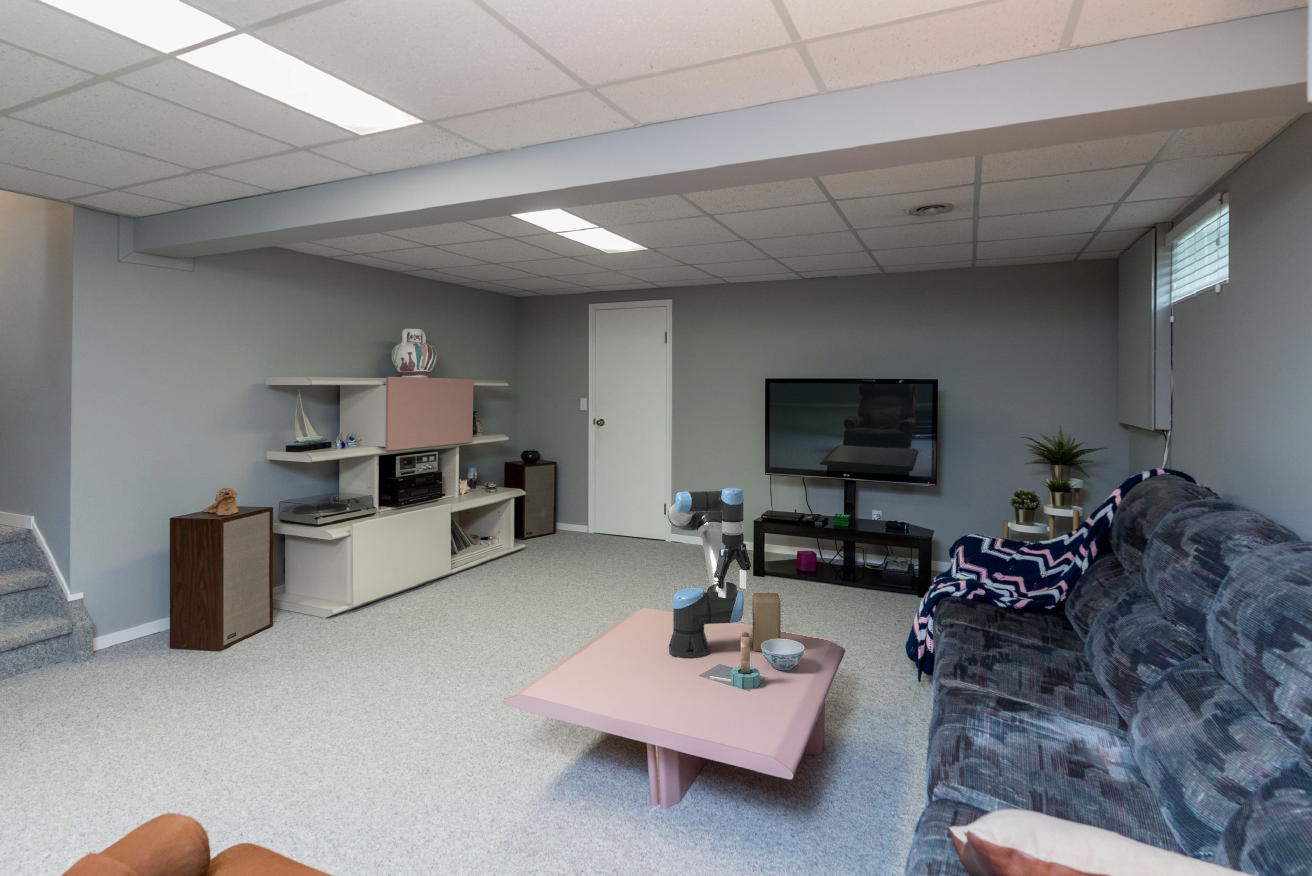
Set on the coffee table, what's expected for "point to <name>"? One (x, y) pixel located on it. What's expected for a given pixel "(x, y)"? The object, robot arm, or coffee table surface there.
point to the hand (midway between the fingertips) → (733, 592)
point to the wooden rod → (745, 653)
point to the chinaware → (782, 653)
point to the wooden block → (765, 618)
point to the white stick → (720, 678)
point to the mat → (724, 674)
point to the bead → (745, 678)
